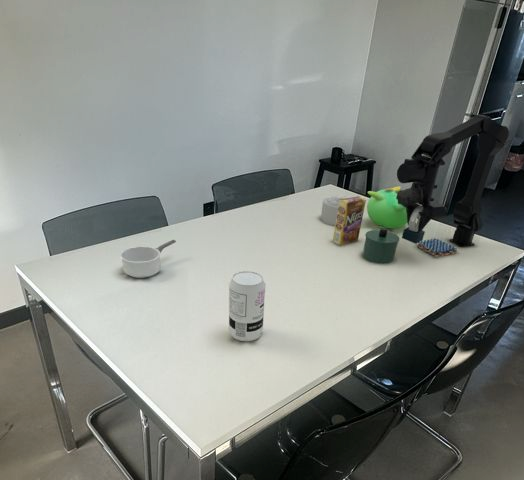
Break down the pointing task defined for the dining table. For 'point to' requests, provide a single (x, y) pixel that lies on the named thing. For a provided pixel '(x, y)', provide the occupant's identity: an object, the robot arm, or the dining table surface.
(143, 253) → the saucepan
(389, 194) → the green toy creature
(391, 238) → the pot lid
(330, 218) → the lumpy-topped squat cylinder
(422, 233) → the watch
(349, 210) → the candy box
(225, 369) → the dining table surface
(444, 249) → the woven mat
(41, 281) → the dining table surface
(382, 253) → the pot
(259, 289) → the supplement can
